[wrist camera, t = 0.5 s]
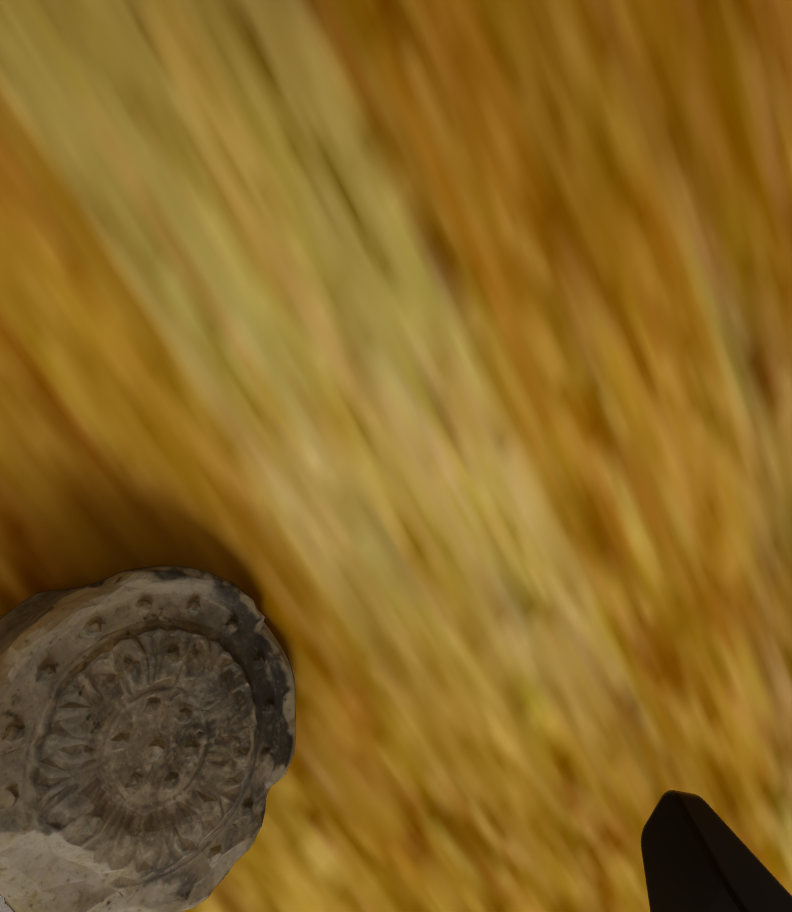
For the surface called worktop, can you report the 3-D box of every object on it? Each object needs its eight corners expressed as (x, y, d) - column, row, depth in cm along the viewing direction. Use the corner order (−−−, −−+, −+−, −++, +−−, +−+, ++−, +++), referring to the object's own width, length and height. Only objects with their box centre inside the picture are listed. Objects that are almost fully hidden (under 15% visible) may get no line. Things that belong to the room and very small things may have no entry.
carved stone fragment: (372, 691, 25) (244, 1017, 17) (231, 744, 30) (81, 1013, 22) (152, 480, 22) (-124, 750, 14) (38, 578, 27) (-211, 816, 19)
